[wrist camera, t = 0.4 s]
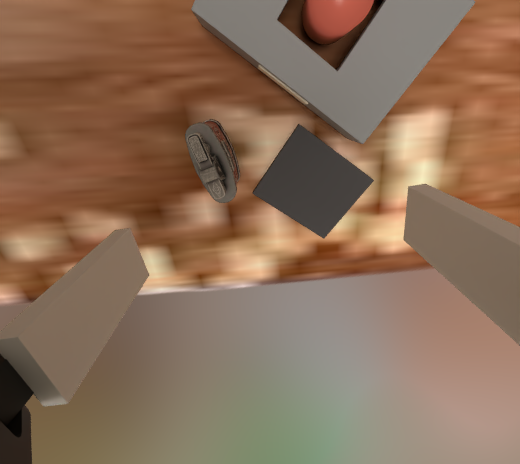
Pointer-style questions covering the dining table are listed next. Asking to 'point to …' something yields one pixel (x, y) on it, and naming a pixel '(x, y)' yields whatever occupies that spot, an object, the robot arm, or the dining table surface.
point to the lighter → (213, 159)
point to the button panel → (352, 67)
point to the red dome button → (332, 18)
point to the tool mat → (312, 183)
